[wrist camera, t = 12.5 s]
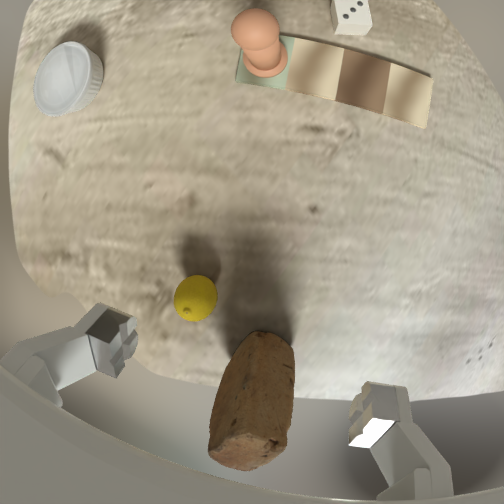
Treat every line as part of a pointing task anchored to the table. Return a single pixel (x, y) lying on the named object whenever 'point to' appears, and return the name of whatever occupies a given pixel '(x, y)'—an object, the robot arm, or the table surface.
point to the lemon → (195, 298)
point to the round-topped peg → (260, 42)
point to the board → (349, 80)
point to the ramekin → (67, 79)
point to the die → (351, 17)
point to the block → (253, 403)
